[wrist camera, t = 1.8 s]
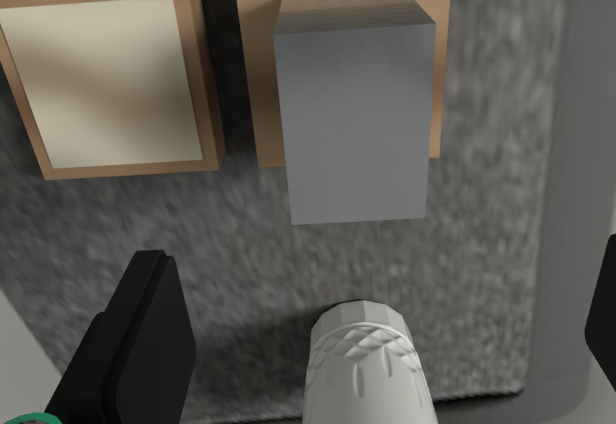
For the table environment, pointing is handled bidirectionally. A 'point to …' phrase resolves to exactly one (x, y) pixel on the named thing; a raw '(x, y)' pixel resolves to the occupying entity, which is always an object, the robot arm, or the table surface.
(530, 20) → the table surface
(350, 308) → the white cup
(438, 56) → the stand
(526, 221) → the table surface
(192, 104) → the stand
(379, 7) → the block
